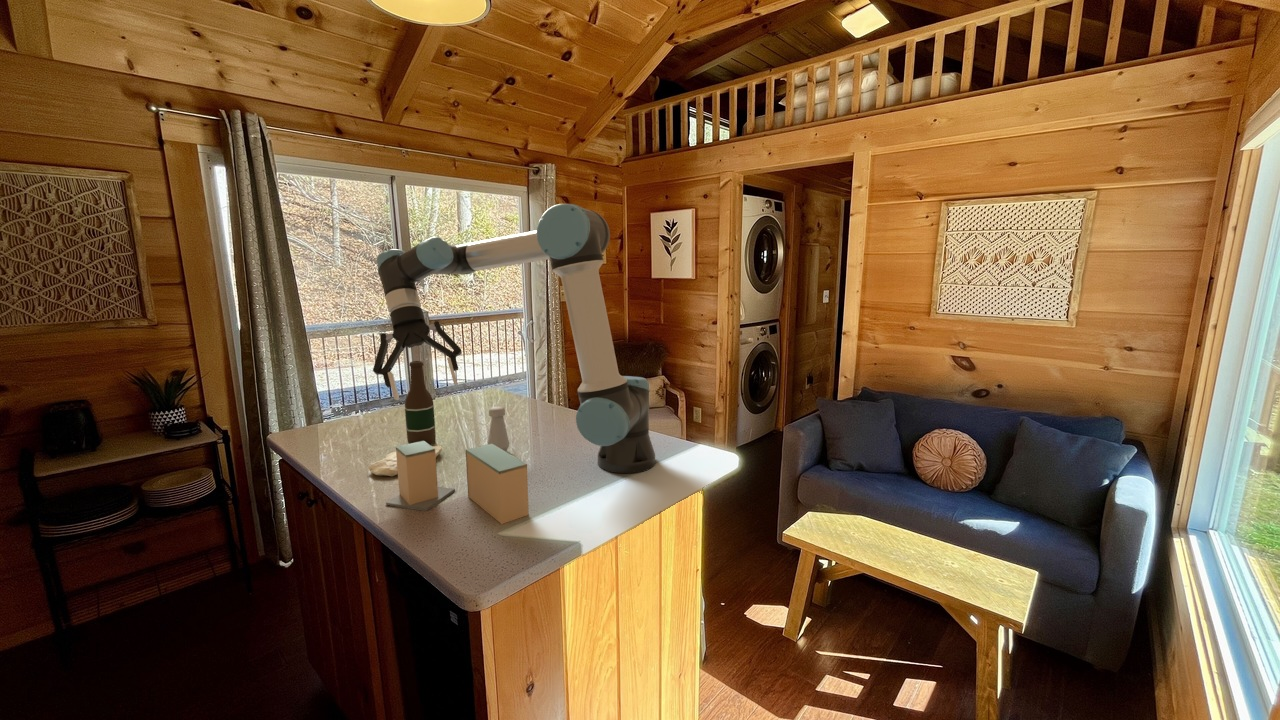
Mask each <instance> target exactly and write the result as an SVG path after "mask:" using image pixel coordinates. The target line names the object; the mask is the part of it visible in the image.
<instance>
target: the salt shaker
mask: <svg viewBox="0 0 1280 720" xmlns="http://www.w3.org/2000/svg"><path fill="white" fill-rule="evenodd" d="M505 415H506V409H505V407H504V406H499V405H497V406H496V405H495V406H491V407H490V408H489V409H488V416H490V418H491V419H490V425H489V433H488V439H487V440H488V441H487V445H488V444H493V445H495V446H497V447H499V448H500V449H502V450H504V451H505V452H507V453H508V449H509V448H510V441H509V437H508V436H509V435H508V431H507V428H506V423H505V419H504V416H505Z"/></svg>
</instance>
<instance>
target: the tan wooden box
mask: <svg viewBox="0 0 1280 720" xmlns="http://www.w3.org/2000/svg"><path fill="white" fill-rule="evenodd" d="M465 461H466V463H465V464H466V465H465V467H466V481H467V497H468V498H469V499H471V500H472V502H474V503H475V504H477V505H478V506H479V507H480V508H481V509H483V510H484V511H485V512H486V513H487V514H489V515H490V516H491V517H492V518H494V519H495V520H496V521H497V522H498V523H500V524H501V525H504V524H506V523H509V522H512V521H516V520H518V519H520V518H524V517H526V516H529V512H530V511H529V487H528V486H529V483H528V482H529V481H528V463H526V462H524V461H522V460H521V459H520V458H517V457H516V456H514V455H512V454H510V453H509V452H508V451H507V452H505V451H504V450H502V449H500V448H499V447H497V446H495V445H493V444H488V443H487V444H484V445H480V446H475V447H471V448H467V449H465Z"/></svg>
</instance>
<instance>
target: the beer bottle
mask: <svg viewBox="0 0 1280 720" xmlns="http://www.w3.org/2000/svg"><path fill="white" fill-rule="evenodd" d="M408 366H409V367H410V387H409V391H408V392H407V394H406V395H405V399H404V413H405V414H404V417H405V427H406V439H407V444H410V443H415V442H420V441H425V442H426V443H428V444H429V445H432V444H434V443H435V442H436V438H437V436H436V434H437V433H436V423H435V406H434V399H433V397H432V394H431V393H430V392H429V391H428V389H427V388H426V384H425V375H424V368H423V366H424V362H423V361H421V360H414V361H409V365H408Z"/></svg>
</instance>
